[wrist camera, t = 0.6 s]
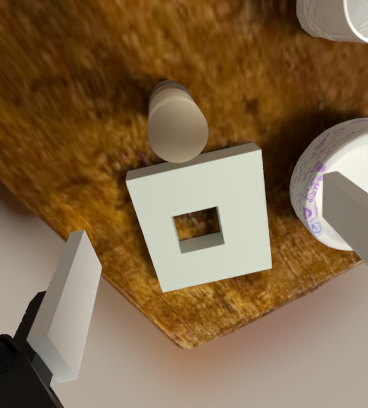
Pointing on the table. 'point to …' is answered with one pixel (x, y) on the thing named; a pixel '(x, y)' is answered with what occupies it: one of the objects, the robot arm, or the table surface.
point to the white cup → (334, 19)
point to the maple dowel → (175, 123)
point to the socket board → (198, 200)
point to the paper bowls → (324, 163)
